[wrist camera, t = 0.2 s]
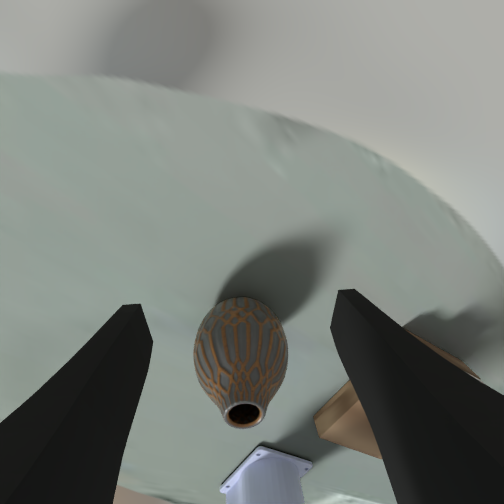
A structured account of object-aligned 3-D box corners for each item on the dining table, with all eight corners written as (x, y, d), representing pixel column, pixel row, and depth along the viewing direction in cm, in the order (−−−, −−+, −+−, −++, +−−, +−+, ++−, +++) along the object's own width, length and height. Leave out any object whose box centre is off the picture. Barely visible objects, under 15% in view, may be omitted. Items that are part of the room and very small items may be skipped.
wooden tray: (371, 438, 31) (381, 459, 29) (313, 416, 28) (319, 437, 26) (461, 360, 27) (480, 378, 25) (401, 327, 24) (417, 344, 22)
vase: (291, 297, 22) (326, 386, 14) (260, 355, 24) (275, 460, 16) (214, 273, 21) (204, 357, 12) (189, 337, 23) (167, 443, 15)
